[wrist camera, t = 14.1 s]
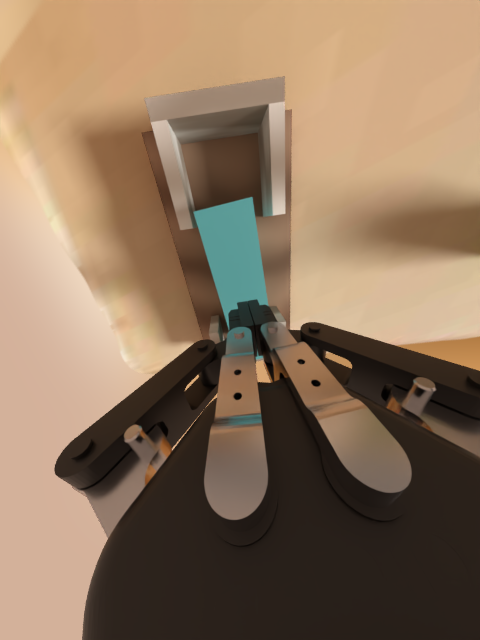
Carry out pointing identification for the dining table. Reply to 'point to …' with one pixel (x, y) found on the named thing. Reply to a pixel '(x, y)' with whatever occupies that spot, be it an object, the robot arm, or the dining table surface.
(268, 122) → the grey walled piece
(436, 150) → the dining table surface
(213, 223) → the teal block
